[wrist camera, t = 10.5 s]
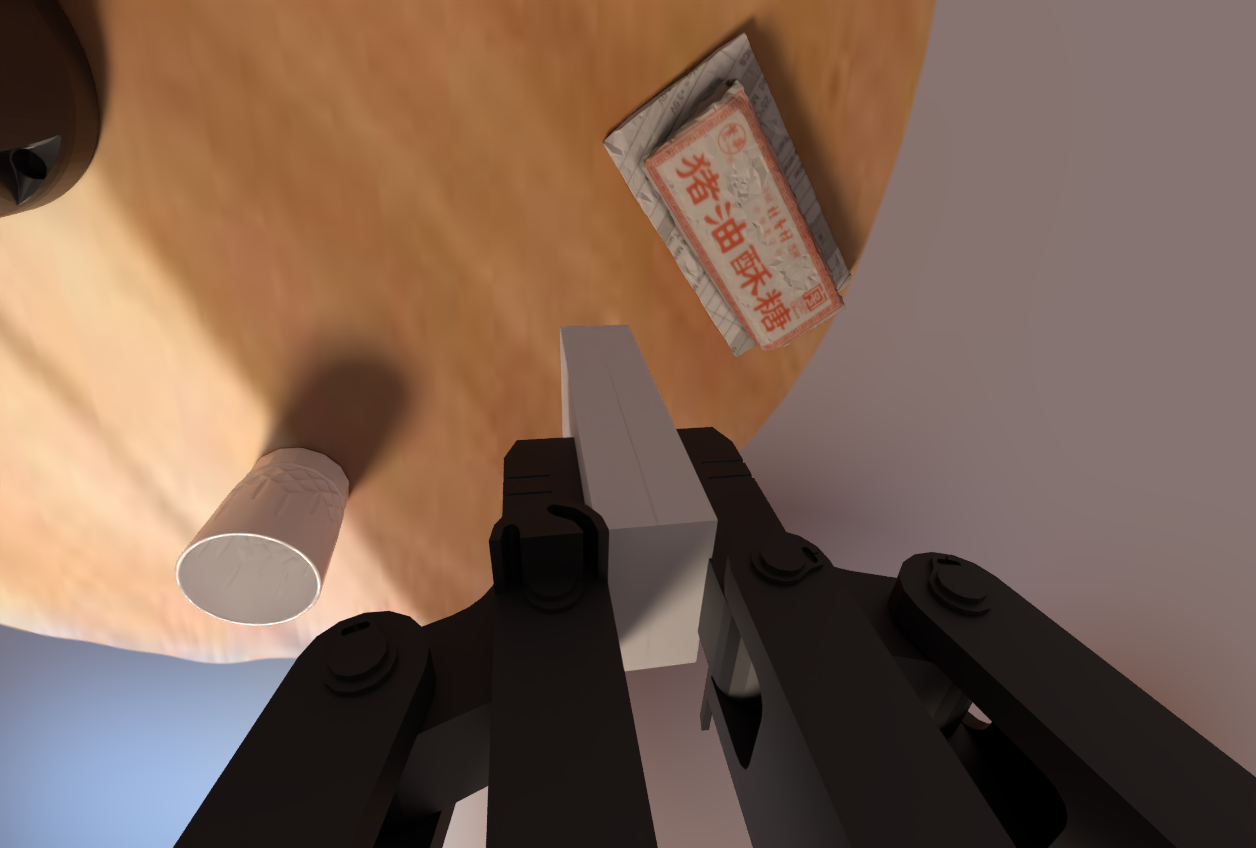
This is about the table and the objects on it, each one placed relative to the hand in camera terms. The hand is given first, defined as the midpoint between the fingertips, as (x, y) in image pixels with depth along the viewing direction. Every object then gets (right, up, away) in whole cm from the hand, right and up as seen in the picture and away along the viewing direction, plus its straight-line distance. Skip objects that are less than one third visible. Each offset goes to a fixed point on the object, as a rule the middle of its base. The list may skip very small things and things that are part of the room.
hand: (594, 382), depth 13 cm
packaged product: (+8, +13, +26) cm, 30 cm away
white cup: (-24, -5, +30) cm, 39 cm away
